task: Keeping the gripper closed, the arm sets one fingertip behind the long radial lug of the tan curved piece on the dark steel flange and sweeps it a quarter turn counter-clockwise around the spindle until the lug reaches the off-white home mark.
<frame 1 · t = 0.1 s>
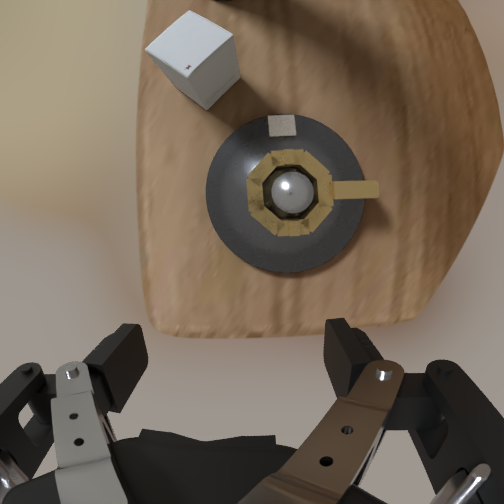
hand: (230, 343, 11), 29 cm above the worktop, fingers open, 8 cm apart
supplement box: (206, 81, 36), on the worktop
flange: (286, 192, 39), on the worktop
tan curved piece: (313, 191, 35), point 4 cm above the worktop, hinge at 0.0°
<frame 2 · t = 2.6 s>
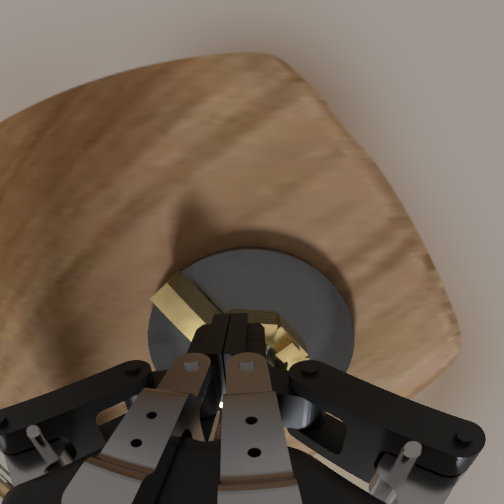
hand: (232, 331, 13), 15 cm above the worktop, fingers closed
flange: (250, 347, 29), on the worktop
tan curved piece: (229, 348, 25), point 4 cm above the worktop, hinge at 0.0°
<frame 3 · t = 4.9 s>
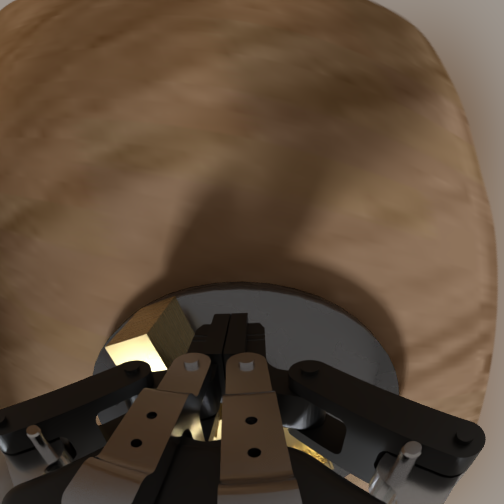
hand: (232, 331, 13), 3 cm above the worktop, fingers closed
flange: (243, 424, 18), on the worktop
tan curved piece: (220, 439, 13), point 4 cm above the worktop, hinge at 0.0°, touching gripper
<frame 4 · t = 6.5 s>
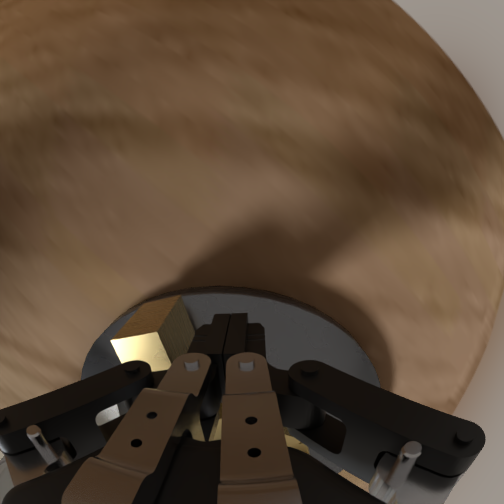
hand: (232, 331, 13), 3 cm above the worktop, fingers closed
supplement box: (59, 442, 19), on the worktop
flange: (228, 425, 18), on the worktop
tan curved piece: (209, 438, 13), point 4 cm above the worktop, hinge at 21.5°, touching gripper
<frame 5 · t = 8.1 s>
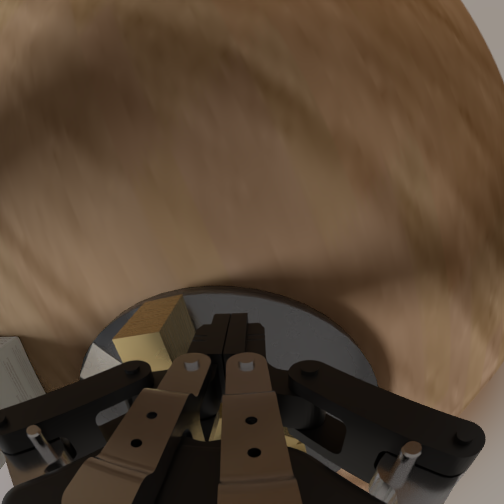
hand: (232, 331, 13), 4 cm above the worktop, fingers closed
supplement box: (14, 367, 18), on the worktop
flange: (226, 424, 18), on the worktop
tan curved piece: (207, 437, 14), point 4 cm above the worktop, hinge at 48.2°, touching gripper
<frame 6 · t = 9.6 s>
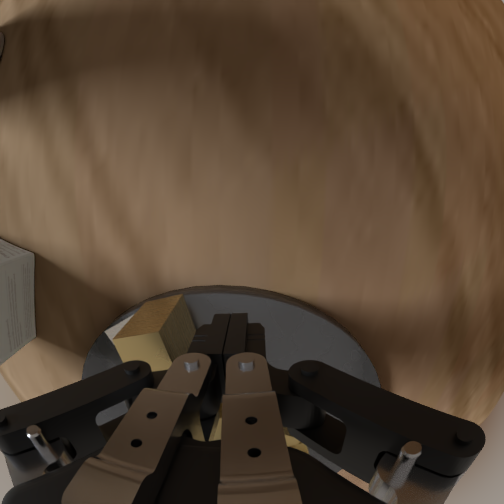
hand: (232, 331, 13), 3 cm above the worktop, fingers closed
supplement box: (8, 281, 16), on the worktop
flange: (228, 423, 18), on the worktop
tan curved piece: (209, 436, 14), point 4 cm above the worktop, hinge at 74.2°, touching gripper
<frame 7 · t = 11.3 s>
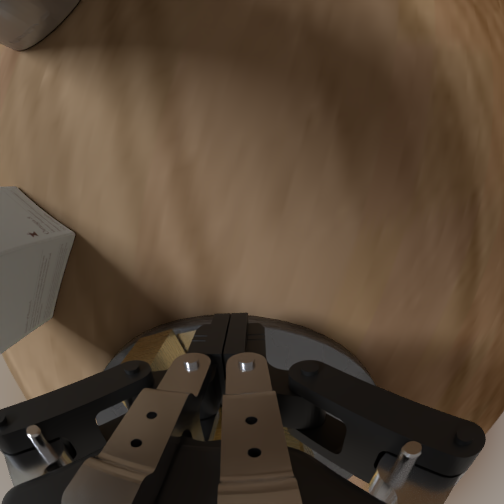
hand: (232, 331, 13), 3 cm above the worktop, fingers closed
supplement box: (32, 250, 16), on the worktop
flange: (236, 440, 18), on the worktop
tan curved piece: (214, 456, 14), point 4 cm above the worktop, hinge at 95.3°
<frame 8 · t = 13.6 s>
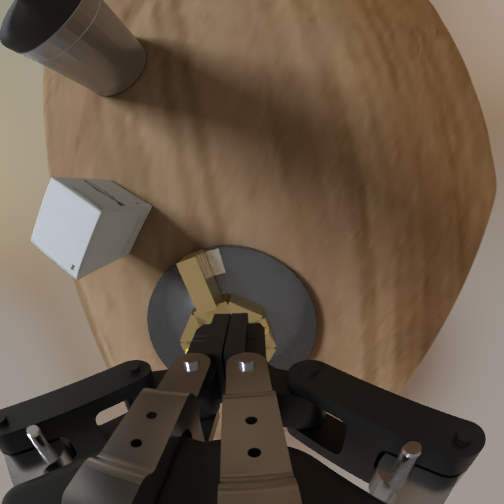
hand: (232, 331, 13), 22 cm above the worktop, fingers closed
supplement box: (120, 216, 34), on the worktop
flange: (230, 327, 36), on the worktop
tan curved piece: (218, 321, 32), point 4 cm above the worktop, hinge at 95.3°
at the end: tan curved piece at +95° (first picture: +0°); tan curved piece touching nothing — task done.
